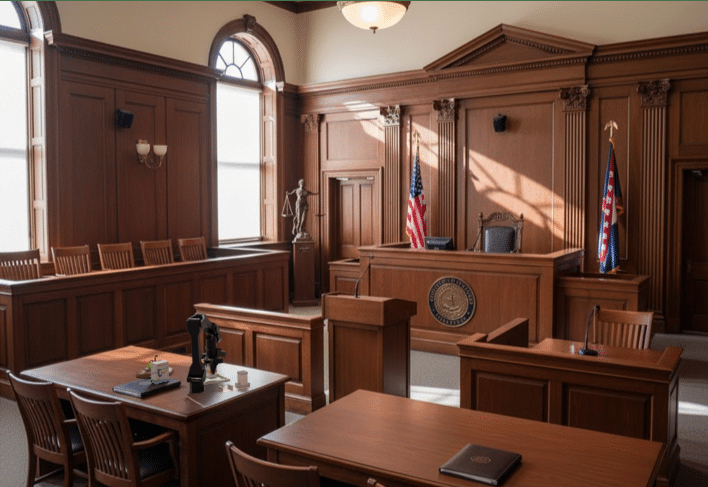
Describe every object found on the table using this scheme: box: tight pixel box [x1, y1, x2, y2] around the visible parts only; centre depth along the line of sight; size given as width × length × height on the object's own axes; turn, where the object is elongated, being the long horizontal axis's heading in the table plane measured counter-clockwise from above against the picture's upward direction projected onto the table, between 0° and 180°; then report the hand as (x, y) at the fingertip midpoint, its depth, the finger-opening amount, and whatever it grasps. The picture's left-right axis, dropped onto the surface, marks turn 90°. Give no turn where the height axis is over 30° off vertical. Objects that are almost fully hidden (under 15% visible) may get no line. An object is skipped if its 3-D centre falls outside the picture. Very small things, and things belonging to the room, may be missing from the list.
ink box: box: [150, 359, 170, 382], centre depth 366 cm, size 9×5×12 cm, turn 143°
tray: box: [193, 372, 231, 386], centre depth 368 cm, size 15×15×2 cm
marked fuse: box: [206, 363, 218, 379], centre depth 368 cm, size 4×4×8 cm
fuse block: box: [215, 381, 253, 394], centre depth 352 cm, size 18×9×3 cm, turn 126°
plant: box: [136, 354, 175, 379], centre depth 386 cm, size 20×20×11 cm
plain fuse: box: [236, 370, 249, 388], centre depth 355 cm, size 4×4×8 cm
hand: (211, 373), depth 368 cm, fingers closed on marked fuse, 4 cm apart
